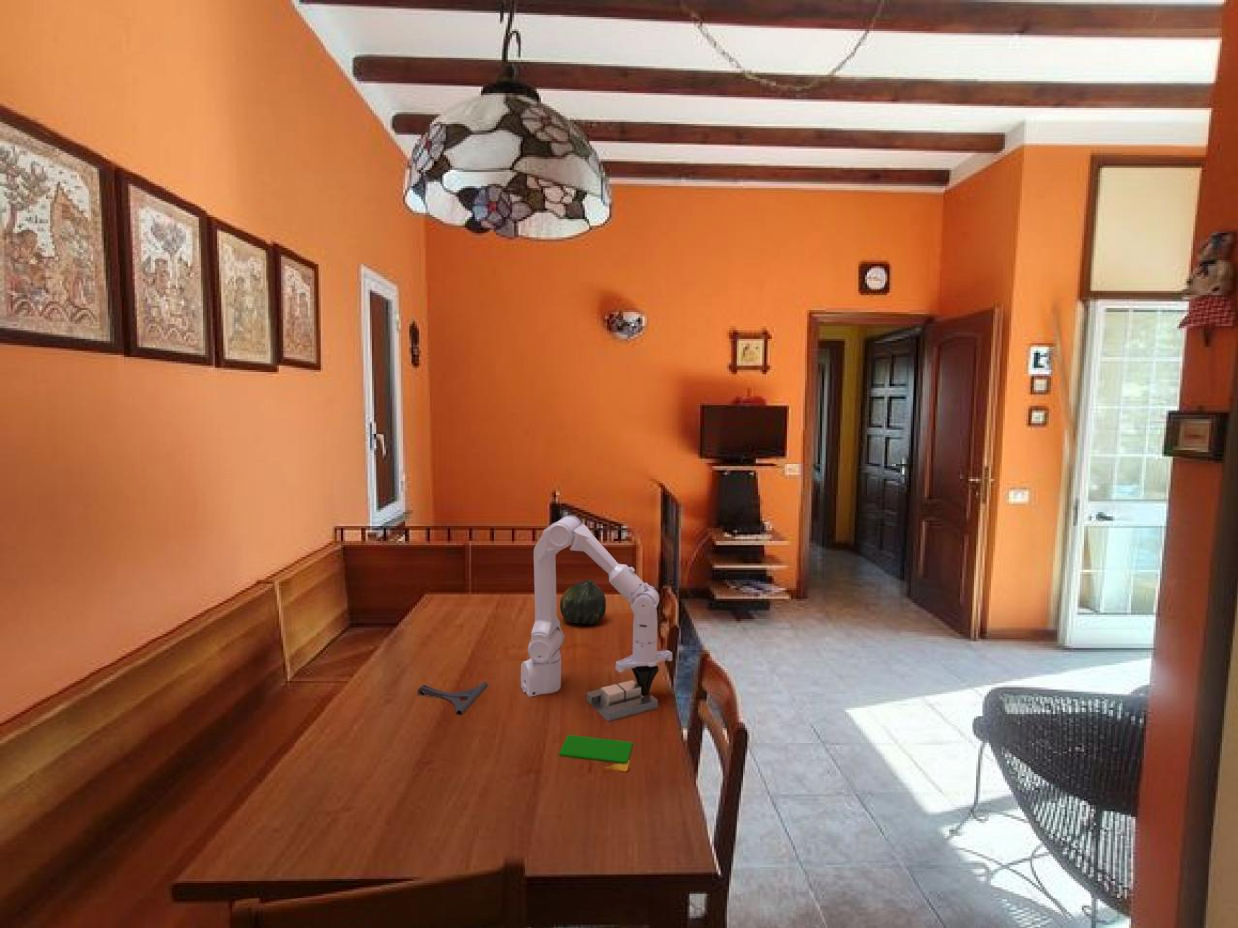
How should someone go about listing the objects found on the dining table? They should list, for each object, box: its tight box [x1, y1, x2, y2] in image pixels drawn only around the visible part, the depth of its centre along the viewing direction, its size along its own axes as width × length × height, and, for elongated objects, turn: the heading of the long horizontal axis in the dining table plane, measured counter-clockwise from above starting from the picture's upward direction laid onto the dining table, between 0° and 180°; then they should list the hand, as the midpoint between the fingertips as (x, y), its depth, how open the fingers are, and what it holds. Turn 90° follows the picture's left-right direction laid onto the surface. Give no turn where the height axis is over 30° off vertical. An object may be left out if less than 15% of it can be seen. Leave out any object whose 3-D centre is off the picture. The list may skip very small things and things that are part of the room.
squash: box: [559, 579, 607, 626], centre depth 196 cm, size 14×15×15 cm
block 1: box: [600, 683, 624, 707], centre depth 138 cm, size 4×4×4 cm
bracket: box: [416, 681, 488, 715], centre depth 145 cm, size 14×15×3 cm
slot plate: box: [586, 680, 659, 722], centre depth 140 cm, size 13×11×3 cm
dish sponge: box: [558, 734, 634, 772], centre depth 121 cm, size 7×14×2 cm, turn 79°
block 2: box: [617, 679, 641, 702], centre depth 140 cm, size 4×4×4 cm
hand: (643, 694), depth 142 cm, fingers closed
